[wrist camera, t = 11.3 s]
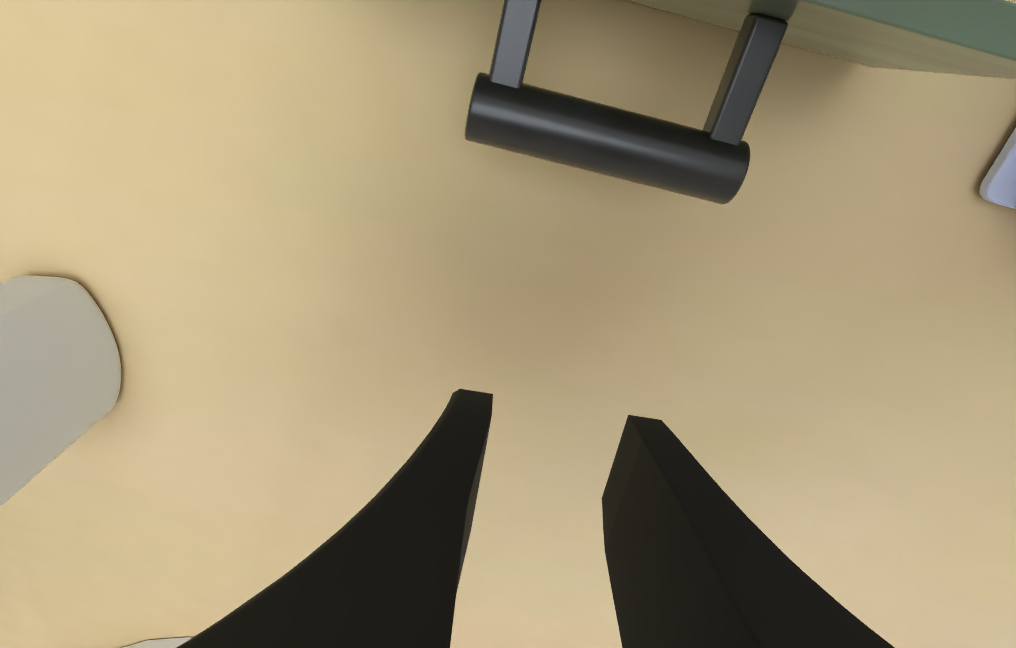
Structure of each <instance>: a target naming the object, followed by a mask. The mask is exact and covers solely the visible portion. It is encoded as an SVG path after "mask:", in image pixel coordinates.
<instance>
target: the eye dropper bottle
mask: <svg viewBox="0 0 1016 648" xmlns="http://www.w3.org/2000/svg"><path fill="white" fill-rule="evenodd" d="M120 384H121V364H120V357H119V352H118V348H117V345H116V342H115V339H114V336H113V334H112V331H111V329H110V327H109V325H108V323H107V321H106V319H105V317H104V316H103V314H102V312H101V310H100V309H99V307H98V306H97V304H96V303H95V301H94V300H93V299H92V297H91V296H90V295H89V293H88V292H87V291H86V290H85V288H83V287H82V286H81V285H80V284H78V283H77V282H76V281H73V280H70V279H67V278H61V277H49V276H34V275H21V276H17V277H14V278H11V279H9V280H6V281H4V282H2V283H0V507H1V506H2V505H3V504H4V503H5V502H6V501H8V500H9V499H10V498H11V497H12V496H13V495H14V494H16V493H17V492H18V491H19V490H20V489H21V488H22V487H24V486H25V485H26V484H27V483H28V482H29V481H30V480H32V479H33V478H34V477H35V476H36V475H37V474H38V473H40V472H41V471H42V470H43V469H44V468H45V467H46V466H48V465H49V464H50V463H51V462H52V461H53V460H54V459H56V458H57V457H58V456H59V455H60V454H61V453H62V452H63V451H65V450H66V449H67V448H68V447H69V446H70V445H71V444H73V443H74V442H75V441H76V440H77V439H78V438H79V437H80V436H82V435H83V434H84V433H85V432H86V431H87V430H88V429H89V428H91V427H92V426H93V425H94V424H95V423H96V422H97V421H99V420H100V419H101V418H102V417H103V416H104V415H105V414H106V413H107V412H108V411H109V410H110V409H111V408H112V407H113V406H114V405H115V403H116V401H117V399H118V395H119V391H120Z"/></svg>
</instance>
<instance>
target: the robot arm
mask: <svg viewBox="0 0 1016 648" xmlns="http://www.w3.org/2000/svg"><path fill="white" fill-rule="evenodd" d="M980 195H981V196H982V198H983V199H985V200H987V201H989V202H992V203H995V204H998V205H1002V206H1006V207H1010V208H1014V209H1016V128H1015V129H1014V131H1013V133H1012V134H1011V136H1010V138H1009V139H1008V141H1007V142H1006V144H1005V146H1004V147H1003V149H1002V150H1001V152H1000V154H999V155H998V157H997V158H996V160H995V162H994V163H993V165H992V167H991V168H990V170H989V171H988V173H987V175H986V176H985V178H984V179H983V181H982V183H981V186H980ZM492 401H493V394H490V393H483V392H477V391H470V390H464V389H459V390H457V391H455V392H454V393H453V394H452V396H451V399H450V401H449V403H448V404H447V406H446V408H445V410H444V412H443V413H442V415H441V416H440V418H439V419H438V421H437V422H436V424H435V425H434V427H433V428H432V430H431V431H430V432H429V434H428V435H427V436H426V438H425V439H424V440H423V441H422V443H421V444H420V445H419V447H418V448H417V449H416V451H415V452H414V453H413V454H412V456H411V457H410V458H409V459H408V460H407V462H406V463H405V464H404V465H403V466H402V467H401V468H400V469H399V471H398V472H397V473H396V474H395V475H394V476H393V477H392V478H391V480H390V481H389V482H388V483H387V484H386V485H385V486H384V487H383V488H382V489H381V491H380V492H379V493H378V494H377V495H376V496H375V497H374V498H373V499H372V500H371V501H370V502H369V503H368V504H367V505H366V506H365V507H364V508H363V509H362V510H361V511H359V512H358V513H357V514H356V515H355V516H354V517H353V518H352V519H351V520H350V521H349V522H348V523H347V524H345V525H344V526H343V527H342V528H341V529H340V530H339V531H338V532H337V533H335V534H334V535H333V536H332V537H331V538H329V539H328V540H327V541H326V542H325V543H323V544H322V545H321V546H320V547H319V548H317V549H316V550H315V551H314V552H313V553H311V554H310V555H309V556H308V557H307V558H305V559H304V560H303V561H302V562H300V563H299V564H298V565H297V566H295V567H294V568H293V569H291V570H290V571H289V572H287V573H286V574H285V575H284V576H282V577H281V578H279V579H278V580H277V581H275V582H274V583H272V584H271V585H270V586H268V587H267V588H265V589H264V590H262V591H261V592H260V593H258V594H257V595H255V596H254V597H253V598H251V599H250V600H248V601H247V602H245V603H244V604H243V605H241V606H240V607H238V608H237V609H235V610H234V611H233V612H231V613H230V614H228V615H227V616H226V617H224V618H223V619H221V620H220V621H218V622H217V623H215V624H214V625H212V626H210V627H209V628H207V629H206V630H204V631H203V632H201V633H200V634H198V635H196V636H195V637H193V638H191V639H190V640H188V641H186V642H185V643H183V644H181V645H180V646H178V647H176V648H450V642H451V633H452V625H453V616H454V608H455V599H456V592H457V588H458V584H459V579H460V575H461V571H462V566H463V562H464V558H465V553H466V549H467V545H468V540H469V536H470V532H471V527H472V521H473V515H474V510H475V504H476V499H477V493H478V488H479V482H480V477H481V471H482V466H483V460H484V455H485V449H486V444H487V438H488V432H489V427H490V421H491V416H492ZM602 509H603V530H604V545H605V554H606V560H607V565H608V571H609V577H610V582H611V588H612V593H613V599H614V604H615V610H616V615H617V620H618V626H619V631H620V637H621V642H622V647H623V648H894V647H893V646H892V645H891V644H889V643H888V642H887V641H885V640H884V639H883V638H882V637H880V636H879V635H878V634H876V633H875V632H874V631H873V630H871V629H870V628H869V627H867V626H866V625H865V624H864V623H863V622H861V621H860V620H859V619H858V618H856V617H855V616H854V615H853V614H852V613H850V612H849V611H848V610H847V609H845V608H844V607H843V606H842V605H841V604H840V603H838V602H837V601H836V600H835V599H834V598H833V597H832V596H830V595H829V594H828V593H827V592H826V591H825V590H824V589H822V588H821V587H820V586H819V585H818V584H817V583H816V582H815V581H813V580H812V579H811V578H810V577H809V576H808V575H807V574H805V573H804V572H803V571H802V570H801V569H800V568H799V567H798V566H797V565H796V564H795V563H793V562H792V561H791V560H790V559H789V558H788V557H787V556H786V555H785V554H784V553H783V552H782V551H781V550H780V549H779V548H778V547H777V546H776V545H775V544H774V543H773V542H772V541H771V540H770V539H769V538H768V537H767V536H766V535H765V534H764V533H763V532H762V531H761V530H760V529H759V528H758V527H757V526H756V525H755V524H754V523H753V522H752V521H751V520H750V519H749V518H748V517H747V516H746V515H745V514H744V513H743V512H742V510H741V509H740V508H739V507H738V506H737V505H736V504H735V503H734V502H733V501H732V500H731V499H730V498H729V496H728V495H727V494H726V493H725V492H724V491H723V490H722V489H721V488H720V486H719V485H718V484H717V483H716V482H715V481H714V480H713V479H712V477H711V476H710V475H709V474H708V473H707V472H706V471H705V469H704V468H703V467H702V466H701V465H700V464H699V463H698V461H697V460H696V459H695V458H694V457H693V456H692V454H691V453H690V452H689V451H688V450H687V449H686V447H685V446H684V445H683V444H682V443H681V442H680V440H679V439H678V438H677V437H676V436H675V435H674V434H673V432H672V431H671V430H670V429H669V428H668V427H667V426H666V425H665V424H664V423H663V422H662V420H658V419H652V418H645V417H639V416H632V415H628V418H627V421H626V424H625V427H624V430H623V433H622V437H621V440H620V443H619V446H618V449H617V452H616V455H615V459H614V462H613V465H612V468H611V471H610V474H609V478H608V481H607V484H606V487H605V490H604V493H603V497H602Z"/></svg>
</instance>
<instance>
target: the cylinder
mask: <svg viewBox="0 0 1016 648" xmlns="http://www.w3.org/2000/svg"><path fill="white" fill-rule="evenodd" d="M190 639H191V637H184V638H171V639H157V640H146V641H143V642H139V643H136V644H133V645H129V646H126V647H123V648H176V647H178V646H180V645H181V644H183V643H185V642H186V641H188V640H190Z"/></svg>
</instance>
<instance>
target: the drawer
mask: <svg viewBox="0 0 1016 648" xmlns="http://www.w3.org/2000/svg"><path fill="white" fill-rule="evenodd" d="M628 1H632V2H636V3H639V4H643V5H646V6H650V7H654V8H657V9H661V10H665V11H668V12H672V13H675V14H679V15H683V16H686V17H690V18H694V19H697V20H701V21H704V22H708V23H712V24H715V25H719V26H723V27H726V28H730V29H733V30H737V31H740V32H739V35H738V38H737V40H736V43H735V46H734V48H733V51H732V54H731V56H730V59H729V62H728V64H727V67H726V69H725V72H724V75H723V77H722V80H721V83H720V85H719V88H718V91H717V93H716V96H715V99H714V101H713V104H712V106H711V109H710V112H709V114H708V117H707V120H706V122H705V125H704V128H703V130H700V129H696V128H692V127H688V126H684V125H680V124H677V123H673V122H669V121H665V120H661V119H657V118H654V117H650V116H646V115H642V114H638V113H634V112H631V111H627V110H623V109H619V108H615V107H611V106H608V105H604V104H600V103H596V102H592V101H588V100H585V99H581V98H577V97H573V96H569V95H565V94H562V93H558V92H554V91H550V90H546V89H542V88H539V87H535V86H531V85H527V84H523V83H522V82H523V78H524V73H525V69H526V65H527V60H528V56H529V52H530V47H531V43H532V39H533V34H534V30H535V25H536V21H537V17H538V12H539V8H540V4H541V0H504V5H503V9H502V14H501V19H500V24H499V29H498V34H497V39H496V44H495V49H494V54H493V59H492V64H491V68H490V73H489V74H485V73H478V75H477V77H476V80H475V84H474V88H473V92H472V96H471V101H470V105H469V110H468V116H467V122H466V129H465V139H466V140H468V141H472V142H476V143H480V144H484V145H488V146H492V147H496V148H500V149H504V150H508V151H512V152H516V153H520V154H524V155H528V156H532V157H536V158H540V159H544V160H548V161H552V162H556V163H560V164H564V165H568V166H572V167H576V168H580V169H584V170H588V171H592V172H596V173H600V174H604V175H607V176H611V177H615V178H619V179H623V180H627V181H631V182H635V183H639V184H643V185H647V186H651V187H655V188H659V189H663V190H667V191H671V192H675V193H679V194H683V195H687V196H691V197H695V198H699V199H703V200H707V201H711V202H715V203H719V204H726V203H728V202H730V201H731V200H732V199H733V198H734V196H735V195H736V194H737V192H738V191H739V189H740V187H741V185H742V183H743V181H744V179H745V176H746V173H747V170H748V166H749V161H750V147H749V145H748V143H746V142H745V141H742V140H741V139H742V137H743V134H744V132H745V129H746V127H747V124H748V122H749V120H750V117H751V115H752V112H753V110H754V107H755V105H756V103H757V100H758V98H759V95H760V93H761V90H762V88H763V86H764V83H765V81H766V78H767V76H768V73H769V71H770V69H771V66H772V64H773V61H774V59H775V56H776V54H777V52H778V49H779V47H780V44H781V43H784V44H788V45H791V46H795V47H799V48H802V49H806V50H810V51H813V52H817V53H820V54H824V55H828V56H831V57H835V58H839V59H842V60H846V61H849V62H853V63H857V64H860V65H864V66H868V67H874V68H886V69H899V70H911V71H923V72H935V73H948V74H960V75H972V76H984V77H997V78H1009V79H1016V4H1015V3H1012V2H1008V1H1005V0H628Z"/></svg>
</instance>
